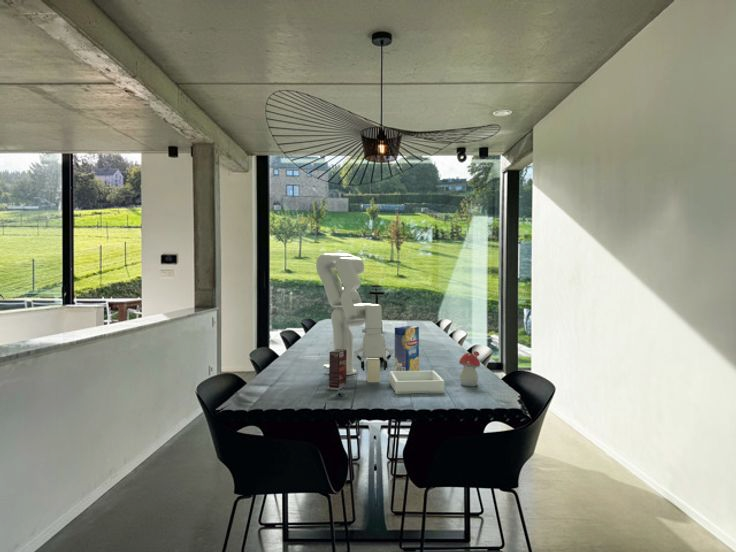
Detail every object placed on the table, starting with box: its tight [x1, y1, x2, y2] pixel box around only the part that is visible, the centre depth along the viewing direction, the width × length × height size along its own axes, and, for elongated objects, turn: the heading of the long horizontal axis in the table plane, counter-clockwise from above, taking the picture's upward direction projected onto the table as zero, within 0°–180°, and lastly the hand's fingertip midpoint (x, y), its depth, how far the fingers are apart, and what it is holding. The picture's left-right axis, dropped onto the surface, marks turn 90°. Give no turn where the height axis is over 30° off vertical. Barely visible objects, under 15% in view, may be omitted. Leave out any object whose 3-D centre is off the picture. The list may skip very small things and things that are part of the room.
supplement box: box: [328, 349, 347, 391], centre depth 230 cm, size 9×5×16 cm, turn 160°
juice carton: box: [366, 357, 381, 383], centre depth 243 cm, size 6×6×10 cm
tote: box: [389, 370, 445, 395], centre depth 230 cm, size 20×22×5 cm
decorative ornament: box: [458, 350, 481, 387], centre depth 234 cm, size 9×7×15 cm
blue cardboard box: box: [394, 325, 420, 371], centre depth 264 cm, size 7×11×22 cm, turn 142°
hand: (374, 369), depth 242 cm, fingers open, 9 cm apart
